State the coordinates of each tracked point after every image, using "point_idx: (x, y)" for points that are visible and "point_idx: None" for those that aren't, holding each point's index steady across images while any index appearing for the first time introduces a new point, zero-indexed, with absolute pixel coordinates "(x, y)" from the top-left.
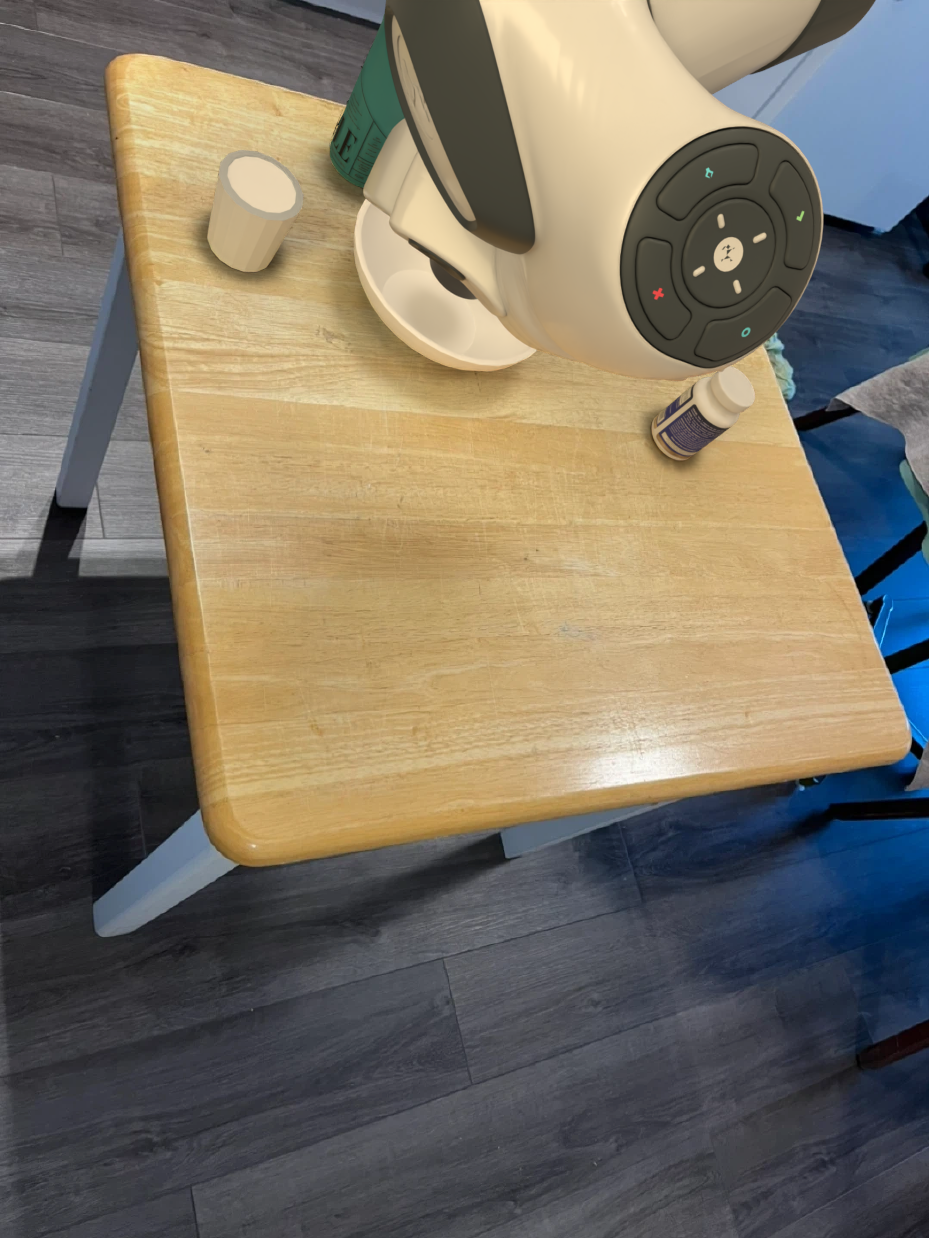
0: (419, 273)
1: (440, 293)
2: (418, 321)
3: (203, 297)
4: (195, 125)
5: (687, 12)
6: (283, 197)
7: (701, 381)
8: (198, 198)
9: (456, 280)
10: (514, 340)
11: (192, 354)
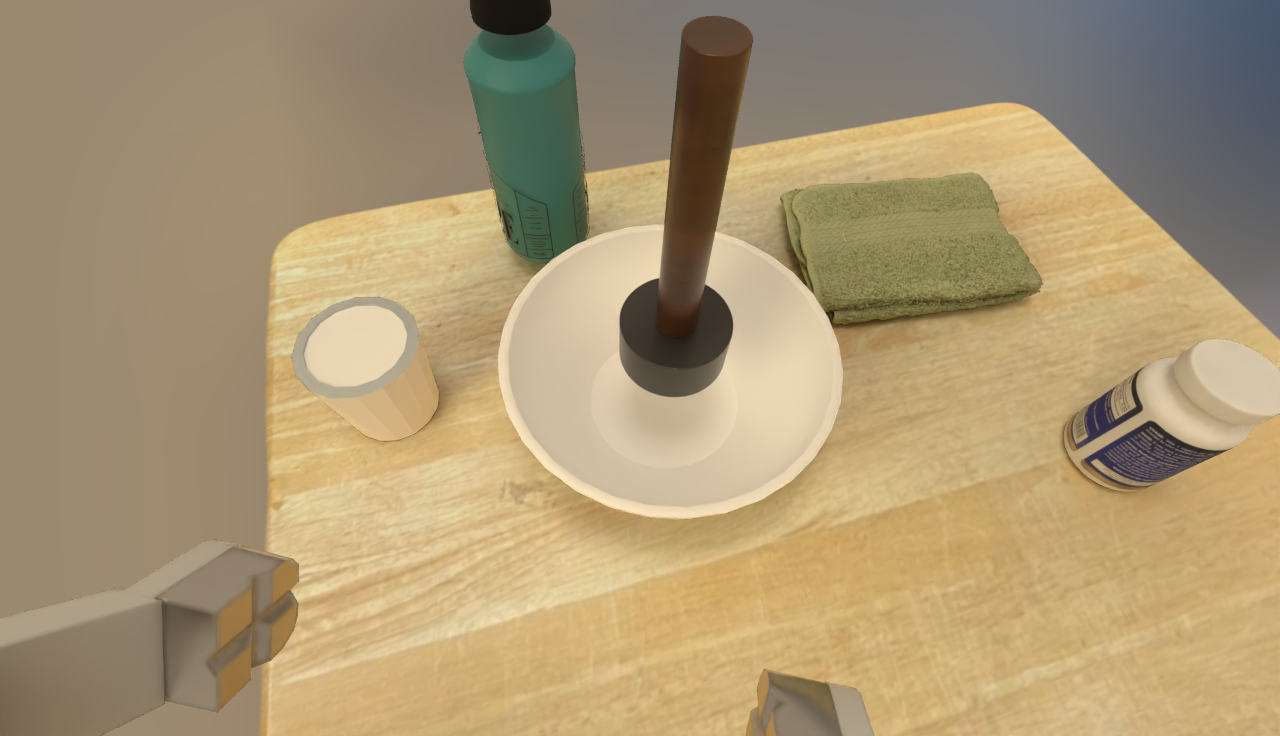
0: None
1: None
2: (648, 419)
3: (337, 503)
4: (352, 268)
5: None
6: (387, 350)
7: (1150, 376)
8: None
9: (657, 381)
10: (791, 413)
11: (310, 607)
